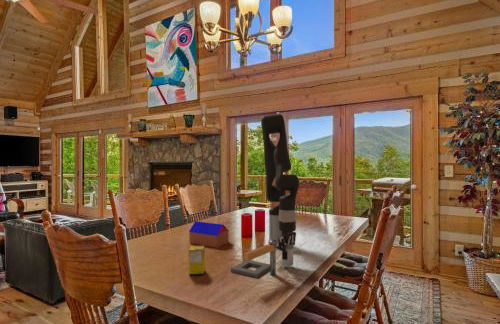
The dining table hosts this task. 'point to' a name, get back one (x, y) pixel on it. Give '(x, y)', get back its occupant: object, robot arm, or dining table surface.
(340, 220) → the dining table surface
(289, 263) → the plug
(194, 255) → the supplement box
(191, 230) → the house
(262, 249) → the gate
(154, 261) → the dining table surface
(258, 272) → the socket collar
